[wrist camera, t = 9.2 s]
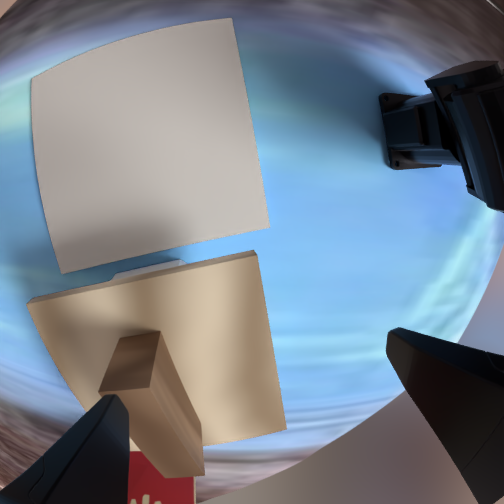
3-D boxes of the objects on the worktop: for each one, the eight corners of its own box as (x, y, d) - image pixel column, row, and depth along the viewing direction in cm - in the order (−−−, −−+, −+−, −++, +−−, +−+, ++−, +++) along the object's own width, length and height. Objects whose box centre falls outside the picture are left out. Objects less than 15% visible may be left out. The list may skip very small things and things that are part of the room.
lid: (253, 249, 15) (282, 292, 9) (283, 420, 19) (303, 474, 13) (33, 297, 13) (-14, 342, 8) (119, 442, 17) (110, 493, 12)
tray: (230, 20, 15) (231, 17, 14) (268, 226, 20) (270, 227, 19) (34, 80, 13) (31, 78, 13) (64, 272, 18) (61, 274, 17)
